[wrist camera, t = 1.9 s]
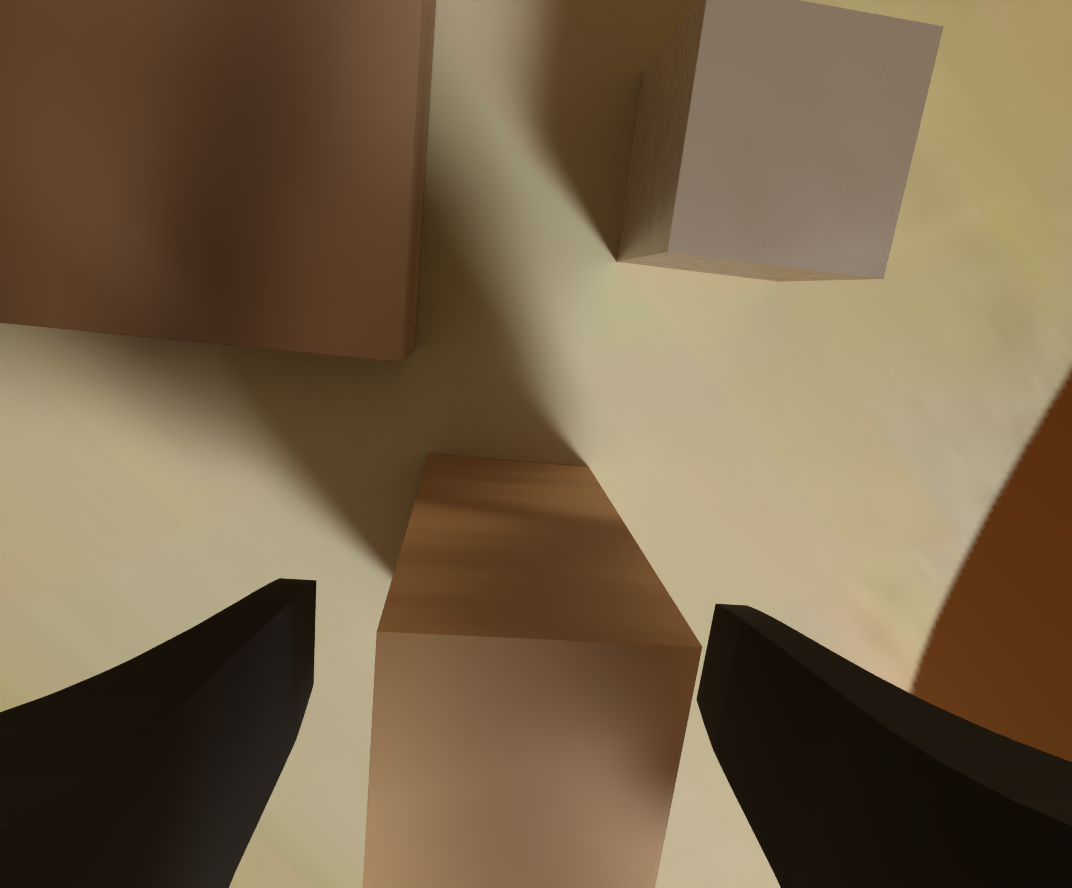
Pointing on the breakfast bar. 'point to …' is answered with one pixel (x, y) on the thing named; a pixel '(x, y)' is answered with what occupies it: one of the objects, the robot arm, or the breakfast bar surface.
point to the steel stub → (776, 141)
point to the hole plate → (216, 170)
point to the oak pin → (523, 689)
